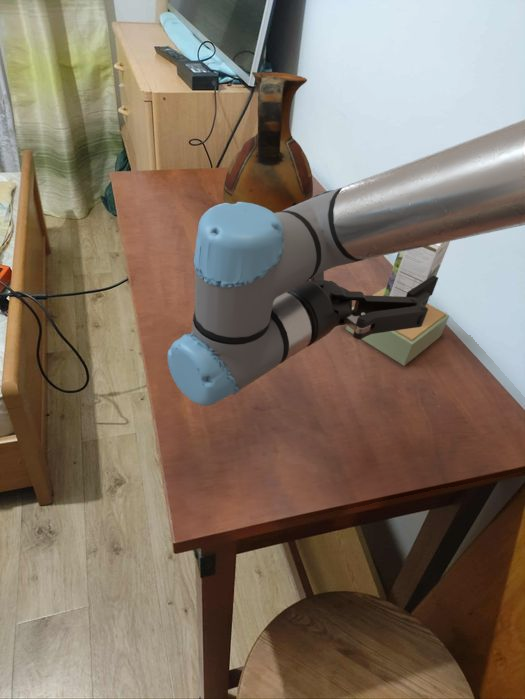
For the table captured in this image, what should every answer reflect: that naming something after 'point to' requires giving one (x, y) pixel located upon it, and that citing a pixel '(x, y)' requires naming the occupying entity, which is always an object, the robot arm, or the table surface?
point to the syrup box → (414, 268)
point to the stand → (408, 336)
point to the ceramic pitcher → (271, 152)
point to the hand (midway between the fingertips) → (390, 263)
